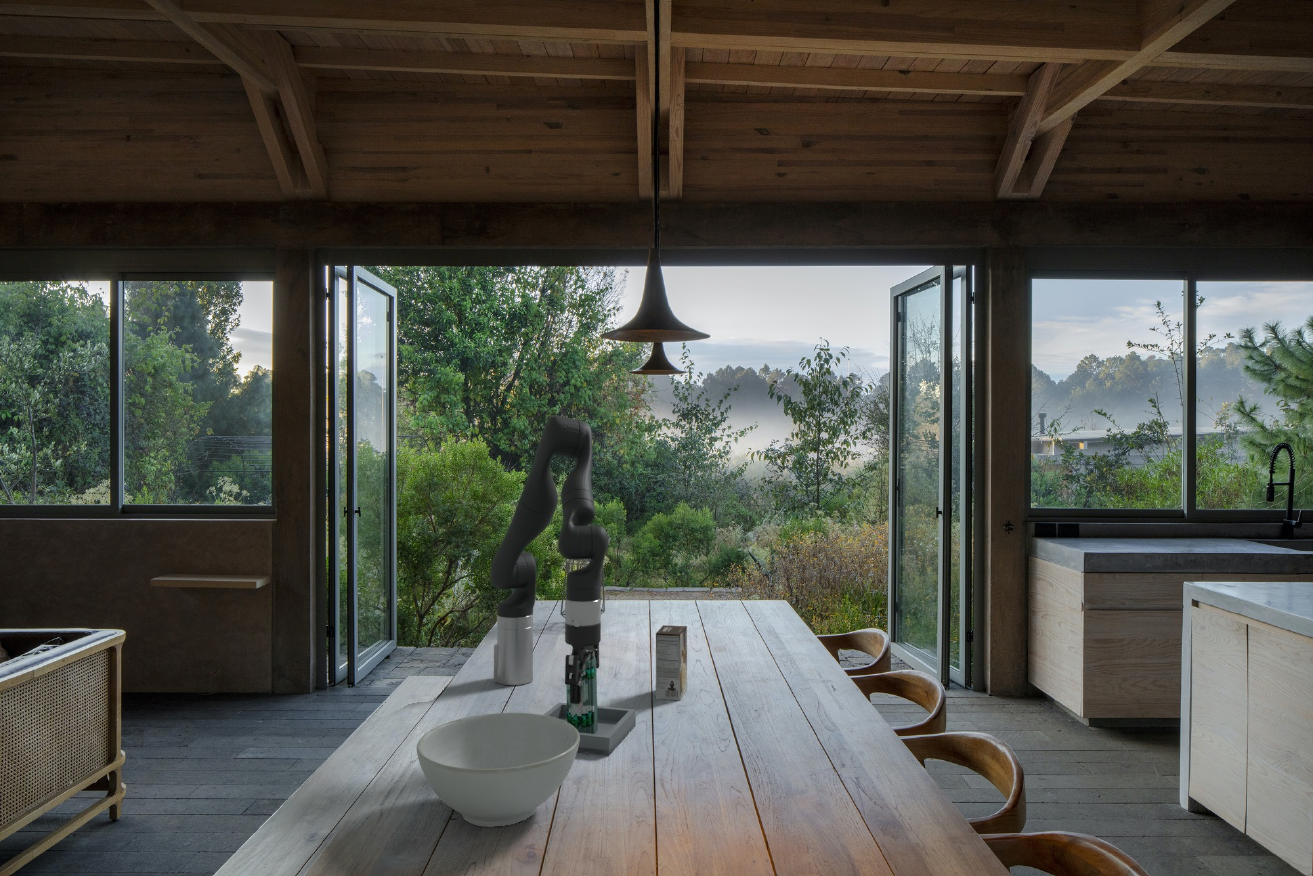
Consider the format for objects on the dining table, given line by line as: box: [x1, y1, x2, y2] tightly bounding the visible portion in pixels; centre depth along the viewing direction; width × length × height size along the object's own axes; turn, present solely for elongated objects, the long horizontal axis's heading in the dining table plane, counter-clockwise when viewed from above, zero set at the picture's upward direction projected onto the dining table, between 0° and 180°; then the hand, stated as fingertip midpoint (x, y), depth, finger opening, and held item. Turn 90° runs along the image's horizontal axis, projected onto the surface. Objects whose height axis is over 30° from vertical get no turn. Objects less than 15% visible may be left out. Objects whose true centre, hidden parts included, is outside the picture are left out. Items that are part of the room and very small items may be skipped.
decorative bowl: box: [416, 712, 580, 828], centre depth 137 cm, size 27×27×12 cm
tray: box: [543, 702, 637, 756], centre depth 173 cm, size 18×18×4 cm
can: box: [565, 657, 598, 734], centre depth 173 cm, size 6×6×15 cm
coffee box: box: [655, 625, 688, 701], centre depth 202 cm, size 9×6×16 cm
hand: (582, 697), depth 173 cm, fingers open, 8 cm apart
